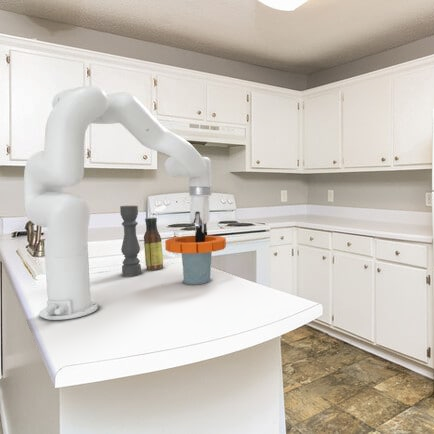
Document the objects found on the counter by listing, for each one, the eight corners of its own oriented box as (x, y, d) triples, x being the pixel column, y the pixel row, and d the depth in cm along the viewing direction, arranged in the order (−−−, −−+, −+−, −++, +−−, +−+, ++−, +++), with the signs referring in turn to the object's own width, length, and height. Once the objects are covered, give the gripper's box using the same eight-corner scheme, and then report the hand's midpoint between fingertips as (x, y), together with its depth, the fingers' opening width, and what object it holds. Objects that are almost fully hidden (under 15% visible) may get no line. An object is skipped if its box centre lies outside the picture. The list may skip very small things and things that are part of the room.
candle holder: (133, 277, 144) (130, 207, 142) (118, 276, 146) (115, 206, 143) (144, 273, 150) (142, 205, 148) (130, 272, 152) (127, 205, 149)
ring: (219, 253, 129) (219, 243, 129) (158, 253, 128) (158, 244, 127) (229, 243, 148) (229, 235, 148) (175, 243, 146) (175, 235, 146)
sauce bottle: (165, 266, 160) (164, 216, 158) (159, 270, 154) (157, 218, 152) (149, 266, 161) (147, 216, 158) (142, 270, 154) (139, 218, 152)
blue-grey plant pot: (198, 276, 146) (197, 243, 145) (219, 280, 141) (218, 246, 140) (175, 282, 137) (174, 247, 136) (196, 286, 132) (195, 250, 131)
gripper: (195, 191, 152) (196, 239, 154) (183, 192, 136) (184, 247, 137) (215, 191, 152) (216, 239, 154) (206, 192, 136) (207, 247, 138)
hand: (201, 242), depth 146 cm, fingers closed on ring, 3 cm apart
